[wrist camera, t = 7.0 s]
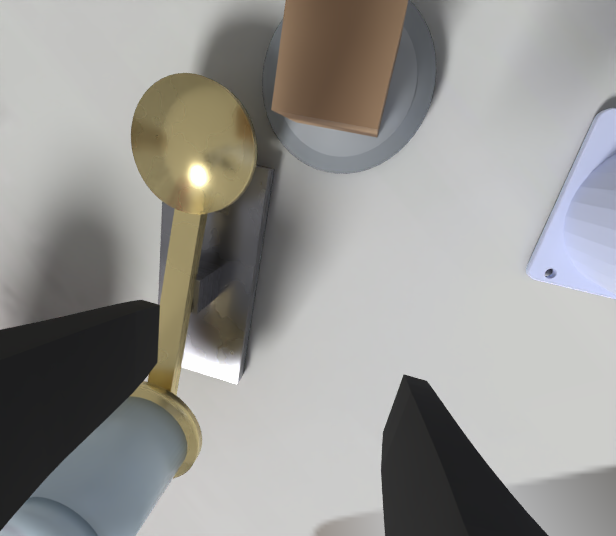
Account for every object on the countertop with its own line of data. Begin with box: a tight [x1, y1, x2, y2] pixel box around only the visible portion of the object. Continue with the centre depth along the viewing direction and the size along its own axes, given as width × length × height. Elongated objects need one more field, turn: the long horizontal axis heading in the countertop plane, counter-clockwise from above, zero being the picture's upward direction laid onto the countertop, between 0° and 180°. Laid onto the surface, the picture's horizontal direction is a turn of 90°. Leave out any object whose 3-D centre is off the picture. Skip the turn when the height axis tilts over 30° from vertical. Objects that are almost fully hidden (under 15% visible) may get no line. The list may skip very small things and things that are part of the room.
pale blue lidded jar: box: [0, 396, 187, 536], centre depth 15 cm, size 5×5×6 cm
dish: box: [262, 0, 436, 174], centre depth 15 cm, size 8×8×1 cm
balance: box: [130, 73, 274, 478], centre depth 18 cm, size 21×6×6 cm, turn 169°
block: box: [271, 0, 408, 137], centre depth 13 cm, size 4×4×4 cm
